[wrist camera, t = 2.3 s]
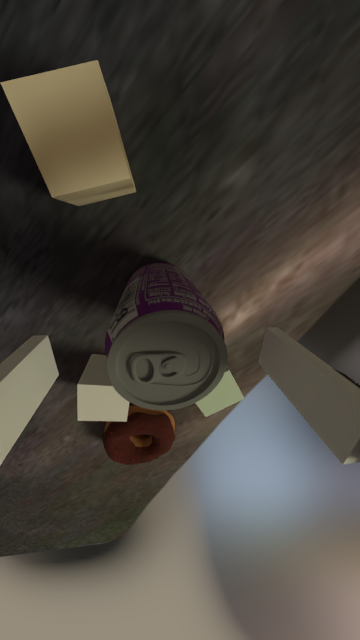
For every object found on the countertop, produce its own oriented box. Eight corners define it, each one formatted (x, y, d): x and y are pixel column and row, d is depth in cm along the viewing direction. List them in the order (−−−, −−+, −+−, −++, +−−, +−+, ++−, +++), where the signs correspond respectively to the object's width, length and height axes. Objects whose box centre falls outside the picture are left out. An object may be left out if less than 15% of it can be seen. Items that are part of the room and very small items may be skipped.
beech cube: (48, 129, 14) (0, 82, 10) (114, 113, 14) (97, 60, 10) (79, 206, 16) (52, 197, 12) (136, 192, 16) (130, 178, 12)
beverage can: (131, 327, 22) (111, 424, 11) (120, 263, 19) (78, 310, 8) (192, 321, 22) (230, 407, 12) (192, 259, 19) (243, 296, 9)
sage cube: (180, 362, 25) (187, 391, 20) (214, 344, 24) (229, 370, 20) (196, 385, 27) (206, 417, 22) (228, 369, 27) (244, 398, 22)
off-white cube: (92, 353, 22) (77, 384, 18) (135, 357, 24) (131, 387, 19) (91, 385, 24) (77, 420, 20) (130, 387, 26) (126, 421, 21)
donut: (186, 409, 29) (191, 434, 25) (155, 448, 32) (155, 475, 28) (124, 389, 26) (119, 415, 22) (95, 434, 29) (87, 463, 25)
